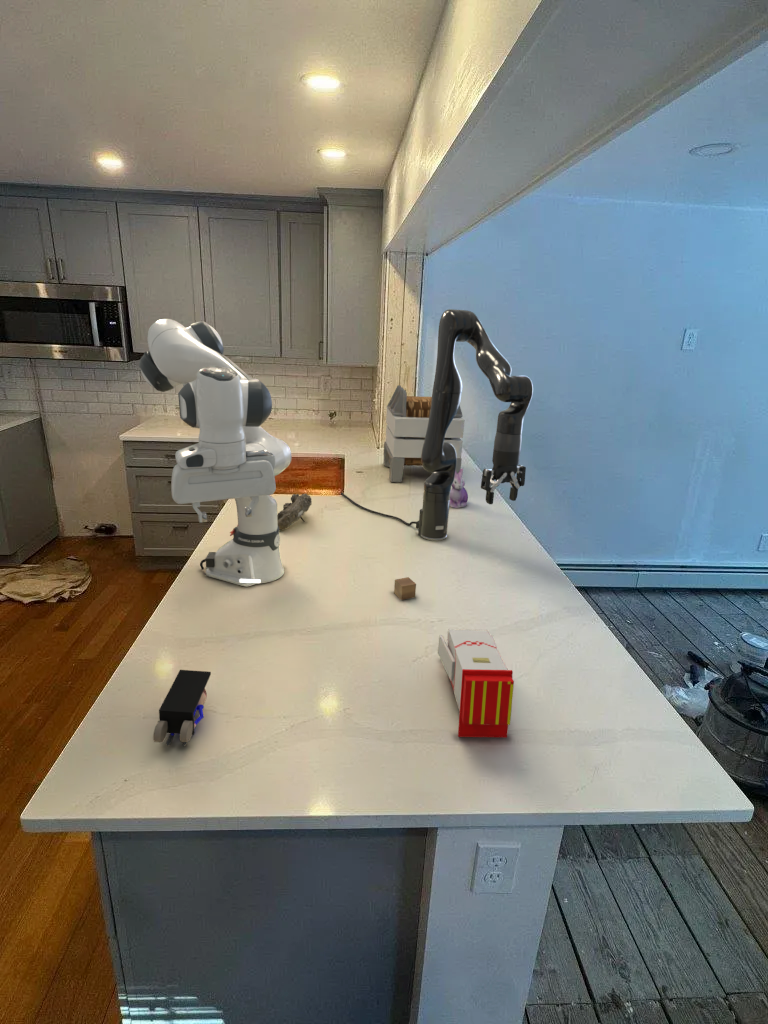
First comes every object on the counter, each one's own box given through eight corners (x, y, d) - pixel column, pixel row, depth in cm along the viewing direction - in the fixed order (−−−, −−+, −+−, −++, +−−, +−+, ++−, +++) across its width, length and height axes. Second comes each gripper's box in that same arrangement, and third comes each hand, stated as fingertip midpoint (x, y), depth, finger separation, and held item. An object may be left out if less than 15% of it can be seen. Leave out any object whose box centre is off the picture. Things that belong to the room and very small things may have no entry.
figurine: (454, 509, 226) (458, 473, 221) (440, 502, 235) (443, 467, 229) (474, 507, 230) (477, 471, 225) (459, 499, 239) (463, 465, 234)
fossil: (280, 499, 216) (309, 478, 211) (296, 518, 219) (326, 498, 214) (263, 525, 196) (295, 503, 191) (282, 546, 199) (314, 524, 194)
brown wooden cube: (415, 597, 156) (416, 583, 155) (401, 600, 155) (402, 586, 153) (407, 590, 160) (408, 577, 159) (393, 593, 158) (394, 579, 157)
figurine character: (193, 760, 99) (215, 697, 113) (188, 728, 96) (211, 667, 109) (154, 759, 99) (181, 696, 113) (148, 727, 96) (176, 666, 109)
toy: (488, 613, 130) (523, 677, 101) (484, 667, 133) (517, 744, 104) (435, 612, 130) (455, 676, 101) (432, 666, 133) (451, 743, 103)
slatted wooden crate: (382, 463, 289) (386, 382, 275) (445, 464, 293) (451, 384, 279) (390, 482, 257) (394, 392, 243) (460, 483, 261) (468, 394, 247)
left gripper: (270, 445, 118) (272, 508, 123) (166, 452, 110) (172, 519, 114) (279, 453, 113) (280, 517, 118) (171, 460, 104) (177, 530, 109)
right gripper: (517, 443, 167) (511, 495, 172) (478, 446, 161) (473, 500, 166) (535, 448, 161) (528, 502, 166) (495, 452, 154) (489, 508, 160)
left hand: (226, 518), depth 116 cm, fingers open, 8 cm apart
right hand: (501, 501), depth 166 cm, fingers open, 8 cm apart
